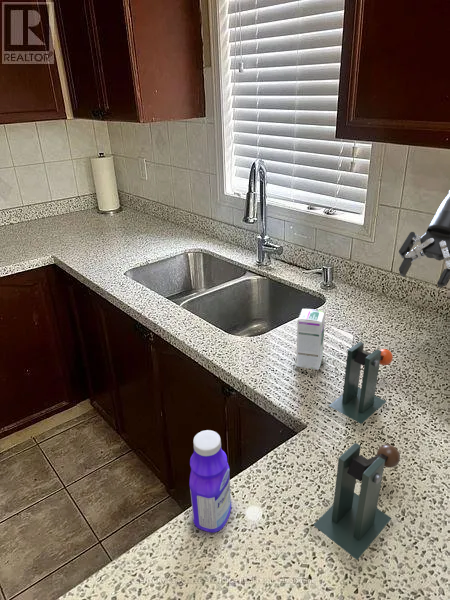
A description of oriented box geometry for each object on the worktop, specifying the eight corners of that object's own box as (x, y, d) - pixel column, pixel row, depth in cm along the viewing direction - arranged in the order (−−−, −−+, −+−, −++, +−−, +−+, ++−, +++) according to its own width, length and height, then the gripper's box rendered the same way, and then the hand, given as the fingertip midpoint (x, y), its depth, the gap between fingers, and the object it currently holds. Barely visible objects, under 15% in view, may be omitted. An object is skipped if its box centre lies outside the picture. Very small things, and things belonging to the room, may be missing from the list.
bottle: (221, 542, 70) (216, 461, 62) (187, 532, 72) (179, 451, 64) (236, 504, 76) (233, 426, 68) (205, 495, 78) (199, 418, 70)
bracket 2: (348, 493, 77) (356, 428, 70) (390, 523, 72) (404, 455, 65) (312, 530, 71) (318, 462, 64) (356, 565, 66) (367, 495, 59)
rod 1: (377, 361, 101) (382, 346, 100) (392, 367, 98) (397, 352, 98) (349, 362, 91) (355, 346, 91) (365, 369, 89) (371, 353, 88)
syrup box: (319, 374, 108) (323, 321, 101) (294, 370, 109) (297, 318, 103) (322, 361, 113) (326, 310, 106) (299, 357, 114) (301, 307, 108)
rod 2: (379, 457, 76) (386, 438, 75) (399, 469, 73) (406, 450, 73) (341, 473, 66) (349, 452, 66) (363, 488, 64) (371, 465, 63)
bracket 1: (353, 389, 102) (360, 333, 96) (385, 405, 97) (395, 348, 90) (327, 410, 96) (333, 352, 90) (360, 428, 91) (368, 368, 84)
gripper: (418, 203, 102) (385, 264, 100) (484, 215, 93) (450, 282, 91) (425, 221, 108) (394, 278, 106) (488, 233, 98) (455, 297, 96)
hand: (420, 280), depth 98 cm, fingers open, 8 cm apart
